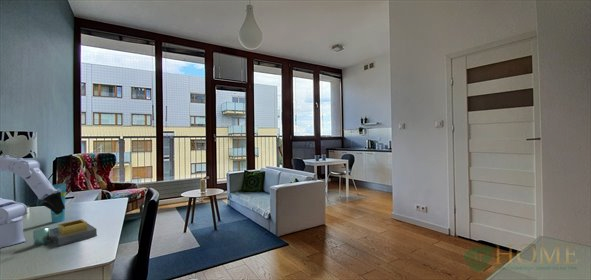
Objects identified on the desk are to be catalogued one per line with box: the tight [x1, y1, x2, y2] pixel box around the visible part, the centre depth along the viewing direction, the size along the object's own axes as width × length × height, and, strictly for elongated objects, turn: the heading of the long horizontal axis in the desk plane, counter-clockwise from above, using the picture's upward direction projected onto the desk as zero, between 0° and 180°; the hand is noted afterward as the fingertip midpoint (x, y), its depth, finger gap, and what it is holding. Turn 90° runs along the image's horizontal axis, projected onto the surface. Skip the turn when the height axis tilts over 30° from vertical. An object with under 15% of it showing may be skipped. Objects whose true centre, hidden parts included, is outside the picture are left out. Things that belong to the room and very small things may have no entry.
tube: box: [50, 183, 67, 223], centre depth 130 cm, size 7×5×19 cm, turn 123°
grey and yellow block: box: [49, 218, 98, 247], centre depth 108 cm, size 12×18×6 cm, turn 53°
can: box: [33, 227, 51, 247], centre depth 100 cm, size 4×4×6 cm
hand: (61, 211), depth 106 cm, fingers open, 7 cm apart
